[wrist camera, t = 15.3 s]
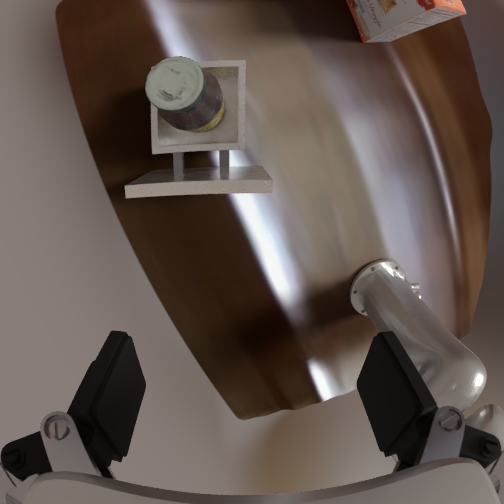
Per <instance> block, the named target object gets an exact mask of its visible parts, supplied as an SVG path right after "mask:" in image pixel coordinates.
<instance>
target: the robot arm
mask: <svg viewBox="0 0 504 504" xmlns="http://www.w3.org/2000/svg"><path fill="white" fill-rule="evenodd" d="M418 289H419V284H418V283H412V284H410V283H409V282H408V281H407V280H406V274H405V271H404V269H403V268H402V267H401V266H400V265H399V264H398V263H397V262H395V261H393V260H389V259H381V260H377V261H375V262H372V263H370V264H369V265H367V266H366V267H364V268H363V269H362V270H361V271H360V272H359V273H358V275H357V276H356V277H355V279H354V281H353V283H352V285H351V289H350V301H351V304H352V306H353V307H354V309H355V310H356V311H357V312H358V313H360V314H362V315H366V316H368V317H369V318H370V320H371V321H372V323H373V325H374V326H375V328H376V330H377V331H378V334H377V336H375V337H374V338H373V341H372V343H371V346H370V349H369V352H368V354H367V357H366V360H365V362H364V365H363V367H362V370H361V372H360V375H359V377H358V379H357V389H358V392H359V394H360V397H361V400H362V402H363V405H364V408H365V410H366V413H367V416H368V418H369V421H370V424H371V427H372V429H373V432H374V435H375V438H376V441H377V444H378V447H379V449H380V451H382V452H384V454H385V457H387V456H392V457H393V459H394V460H395V462H396V466H395V468H394V470H393V472H392V473H391V474H388V475H384V476H380V477H377V478H373V479H369V480H365V481H361V482H357V483H353V484H348V485H343V486H338V487H333V488H327V489H320V490H314V491H306V492H297V493H287V494H274V495H244V496H243V495H211V494H197V493H187V492H178V491H172V490H164V489H159V488H153V487H147V486H141V485H136V484H131V483H127V482H123V481H118V480H117V479H116V477H115V476H114V474H113V472H112V471H111V469H110V467H109V466H110V464H111V461H112V460H114V461H118V462H121V461H122V458H123V456H124V457H126V456H127V453H128V450H129V446H130V442H131V438H132V435H133V431H134V427H135V424H136V420H137V416H138V413H139V409H140V406H141V402H142V399H143V396H144V392H145V388H146V382H145V379H144V376H143V373H142V370H141V366H140V363H139V360H138V357H137V354H136V350H135V347H134V343H133V340H132V337H131V336H128V334H127V333H126V332H121V331H111V332H110V334H109V336H108V338H107V340H106V341H105V343H104V345H103V347H102V349H101V351H100V352H99V355H98V356H97V358H96V360H95V361H93V362H92V363H91V365H90V366H89V368H88V370H87V372H86V374H85V376H84V379H83V380H82V382H81V384H80V386H79V388H78V390H77V392H76V395H75V397H74V399H73V401H72V403H71V405H70V407H69V409H68V412H67V413H64V412H59V411H56V412H52V413H50V414H48V415H47V416H46V417H44V419H43V420H42V422H41V426H40V431H39V432H36V433H34V434H31V435H28V436H26V437H23V438H21V439H18V440H15V441H12V442H10V443H8V444H6V445H5V446H4V447H3V449H2V451H1V460H0V504H504V412H503V411H502V409H501V408H500V407H498V406H497V405H495V404H486V405H484V406H483V407H481V408H479V409H478V410H477V411H475V412H474V413H473V414H471V415H470V416H469V417H468V418H466V419H465V418H464V415H463V414H462V413H463V412H464V411H465V410H466V409H467V408H469V407H470V405H471V404H472V403H473V402H474V401H475V400H476V399H477V398H478V397H479V395H480V394H481V392H482V390H483V389H484V386H485V383H486V377H487V376H486V370H485V367H484V365H483V364H482V362H481V361H480V359H479V358H478V357H477V356H476V355H474V353H472V352H471V351H470V350H469V349H468V348H467V347H465V346H464V345H463V344H462V343H461V342H460V341H459V340H458V339H457V338H456V337H455V336H454V335H452V333H451V332H450V331H449V330H448V329H447V328H446V327H445V326H444V325H443V324H442V322H441V321H440V320H439V319H438V318H437V317H436V315H435V314H434V313H433V312H432V311H431V310H430V309H429V307H428V306H427V305H426V304H425V303H424V302H423V301H422V300H421V294H420V292H414V291H413V290H418ZM418 371H419V372H418Z"/></svg>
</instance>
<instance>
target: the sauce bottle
mask: <svg viewBox="0 0 504 504" xmlns="http://www.w3.org/2000/svg"><path fill="white" fill-rule="evenodd" d="M145 91H146V95H147V97H148V99H149V101H150V102H151V103H152V104H153V105H154V106H155V107H156V108H157V109H158V111H157V113H158V115H159V116H160V117H161V118H163V119H164V120H165V121H166V122H168V123H169V124H170V125H171V126H173V127H174V128H176V129H179V130H183V131H189V132H195V133H200V132H205V131H208V130H210V129H212V128H214V127H215V126H216V125H217V124H218V123H219V122H220V120H221V118H222V116H223V113H224V103H223V94H222V90H221V88H220V85H219V83H218V80H217V78H216V77H214V76H213V75H212V74H210V73H209V72H208V71H206V70H204V69H201V67H200V66H199V65H198V64H197V63H196V62H194V61H193V60H191V59H189V58H186V57H182V56H179V57H170V58H167V59H164V60H162V61H161V62H159V63H158V64H157V65H156V66H154V67H153V68H152V69H151V71H150V72H149V74H148V76H147V79H146V83H145Z"/></svg>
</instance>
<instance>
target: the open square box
mask: <svg viewBox="0 0 504 504" xmlns="http://www.w3.org/2000/svg"><path fill="white" fill-rule="evenodd" d="M196 63H197V64H198V65H199V66H200V67H201V69H204V70H206V71H208V72H209V73H210V74H212V75H213V76H214V77H216V78H217V80H218V83H219V85H220V88H221V90H222V94H223V103H224V113H223V116H222V118H221V120H220V122H219V123H218V124H217V125H216V126H215V127H214V128H212V129H210V130H208V131H205V132H200V133H195V132H189V131H183V130H179V129H176V128H174V127H173V126H171V125H170V124H169V123H168V122H166V121H165V120H164V119H163V118H161V117H160V116H159V115H158V113H157V111H158V109H157V108H156V107H155V106H154V105H153V104H152V103H151V135H152V154H160V153H173V165H174V169H165V170H153V171H151V172H149V173H147V174H145V175H143V176H141V177H140V178H138V179H136V180H134V181H132V182H130V183H129V184H127V185H125V194H126V198H135V197H150V196H168V195H189V194H221V193H272V184H273V180H272V178H271V177H270V176H269V174H268V173H267V172H266V170H265V169H264V168H263V167H262V166H244V167H229V150H245V80H246V60H226V61H203V62H196ZM152 68H153V67H152ZM210 150H219V157H220V167H202V168H184V152H189V151H210Z"/></svg>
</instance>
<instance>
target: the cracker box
mask: <svg viewBox="0 0 504 504" xmlns="http://www.w3.org/2000/svg"><path fill="white" fill-rule="evenodd" d="M346 2H347V4H348V6H349V9H350V11H351V14H352V16H353V18H354V21H355V24H356V26H357V29H358V31H359V34H360V37H361V40H362V42H363V43H365V42H391V41H393V40H396V39H398V38H401V37H403V36H406V35H408V34H410V33H413V32H416V31H418V30H421V29H423V28H426V27H429V26H432V25H434V24H437V23H440V22H443V21H446V20H449V19H452V18H455V17H458V16H462V15H465V14H466V11H465V9H464V7H463V4H462V2H461V0H346Z"/></svg>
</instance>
